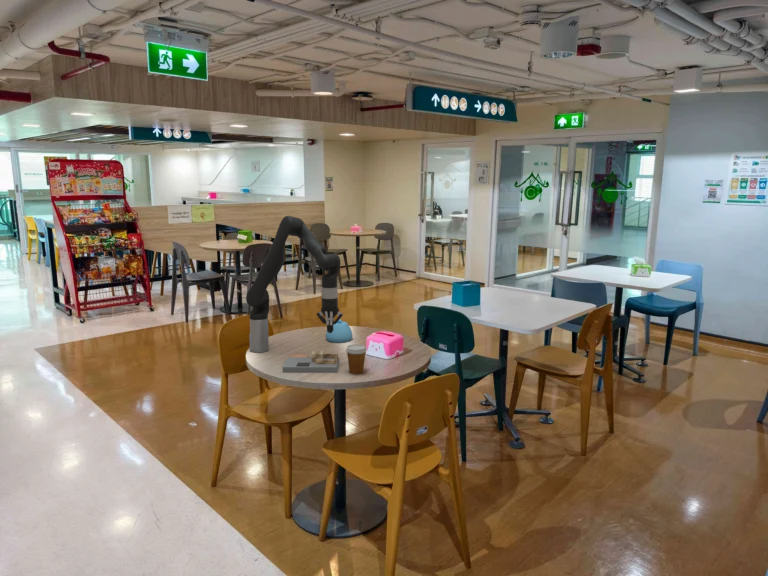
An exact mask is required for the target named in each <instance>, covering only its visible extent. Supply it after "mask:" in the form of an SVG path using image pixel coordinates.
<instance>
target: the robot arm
mask: <svg viewBox="0 0 768 576" xmlns="http://www.w3.org/2000/svg"><path fill="white" fill-rule="evenodd" d="M289 236H290V237H291V236H292V237H297V238H299V239H301V240H302V242H303V244H304V247H305V249H306V250H307V252H308V253H309V254H310V255H311V256H312V257H313V258H314V261H315V262H316V264H317V266H318V267H319V269H322V270H323V271H327V270H328V271H327V273H325V274H323V275H322V276H321V309H320V311H318V312H317V313H316V316H317V317H318V319H319V320H320V321H321V323H322V324H324V325H326V332H328V333H332V332H333V325H334V324H336V323H337V322H338V321H339V320H340V319H341V318H342V317H343V316H344V313H343V312H341V311H340V310H339V297H338V296H339V294H338V292H339V291H338V276H339V271H340V267H341V258H340V256H339V255H338V253H337V254H336V253H328V251H327V248H326V247H325V246H324V245H323V244H322V243H321V242H320V241H319V240H318V239H317V238H316V237H315V236H314V234H313V233H312V232H311V230H310V229H309V228H308V226H307V224H306V223H305V222H304V221H303V219H301V218H300V217H295V216H291V215H286V216H284V217H283V218H282V219H281V221H280V223H279V225H278V228H277V231H276V234H275V237H274V239H273V241H272V243H271V246H270V248H269V250H268V252H267V254H266V256H265V258H264V260H263V262H262V264H261V267H260V269H259V271H258V273H257V276H256V278H255V280H254V281H253V282H252V285H251V286H250V287H249V289H248V291H247V293H246V295H245V301H246V303H247V305H249V306H250V307H252V309H251V311H250V313H249V334H248V337H249V339H248V340H249V352H251V353H252V352H253V353H265V352H267V351H269V350H270V348H269V347H270V344H269V343H270V342H269V338H270V337H269V312H270V295H269V294H270V293H269V291H268V290H267V289H268V287H269V285H270V284H271V283H272V281H274V279H276V277H277V276H278V274H279V273H280V271H281V269H283V268H282V267H284V266H283V265H284V263H285V260H286V252H285V245H286V241H287V239H288V237H289ZM327 253H328V254H327ZM336 316H337V317H336ZM335 317H336V319H335Z"/></svg>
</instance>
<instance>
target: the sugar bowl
mask: <svg viewBox="0 0 768 576" xmlns="http://www.w3.org/2000/svg"><path fill="white" fill-rule="evenodd" d="M352 338H353V331H352V329H351V327H350V325H349V324H348V322H347V321H344V320H343V321H342V319H341V318H340V320H339V321H338V322H337V323H336V324H334V325H333V332H332V333H328V332H327V331H326V333H325V339H326V340H327V341H328V342H329V343H335V344H340V343H341V344H342V343H348V342H350V341H351V340H352Z"/></svg>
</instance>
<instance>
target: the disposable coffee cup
mask: <svg viewBox="0 0 768 576" xmlns="http://www.w3.org/2000/svg"><path fill="white" fill-rule="evenodd" d="M367 350H368V349H367V346H366V345H363V344H350V345H348V346H347V347H346V349H345V351H346V355H347V362H348V370H349V373H350V374H352V375H360V374H363V373H364V367H365V360H366V352H367Z"/></svg>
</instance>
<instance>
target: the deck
mask: <svg viewBox="0 0 768 576" xmlns="http://www.w3.org/2000/svg"><path fill="white" fill-rule="evenodd" d="M334 359H335V358H323V360H334ZM339 365H340V357H338V360H337V364H315V362H312V356H311V357H309V356H308V357H287V358H286V360H285V362H284V363H283V366H282V373H327V374H328V373H334V374H335V373H338V369H339Z"/></svg>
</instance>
